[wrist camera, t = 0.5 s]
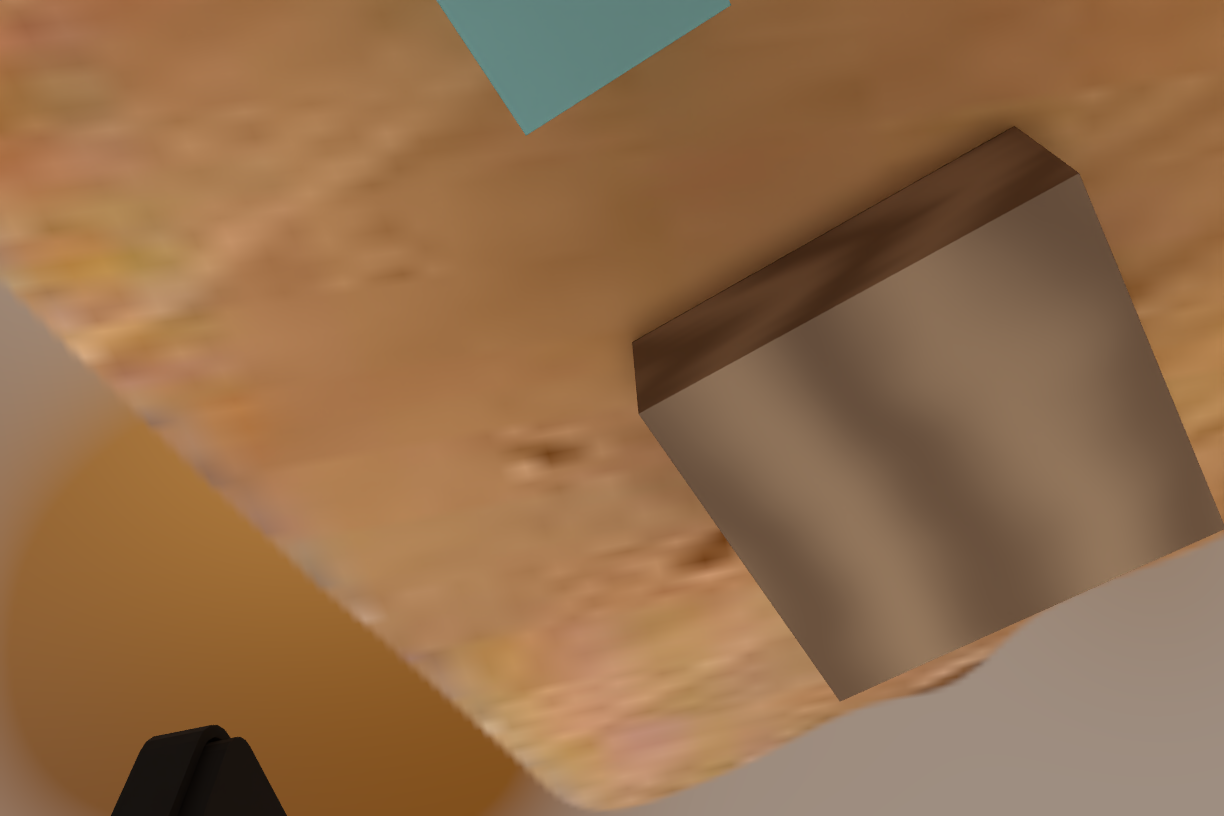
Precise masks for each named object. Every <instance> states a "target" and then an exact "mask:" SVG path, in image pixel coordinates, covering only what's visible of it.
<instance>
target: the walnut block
mask: <svg viewBox="0 0 1224 816" xmlns="http://www.w3.org/2000/svg"><path fill="white" fill-rule="evenodd" d="M632 345H633V356H634V368H635V379H636V390H637V401H638V412H639V415H640V416H641V418H642V419H643V421H644V422H645V424H646V425H647V426H648V428H649V429H650V431H651V432H652V434H653V435H654V436H655V438H656V439H657V441H658V442H659V444H660V445H661V446H662V448H663V449H664V451H665V452H666V454H667V455H668V456H669V458H670V459H671V461H672V462H673V464H674V465H675V466H676V468H677V469H678V471H679V472H680V474H681V475H682V476H683V478H684V479H685V481H686V482H687V484H688V485H689V486H690V488H691V489H692V491H693V492H694V494H695V495H696V496H697V498H698V499H699V501H700V502H701V504H702V505H703V506H704V508H705V509H706V511H707V512H708V514H709V515H710V516H711V518H712V519H713V521H714V522H715V524H716V525H717V526H718V528H719V529H720V531H721V532H722V534H723V535H724V536H725V538H726V539H727V541H728V542H729V544H730V545H731V546H732V548H733V549H734V551H735V552H736V554H737V555H738V556H739V558H740V559H741V561H742V562H743V564H744V565H745V566H746V568H747V569H748V571H749V572H750V574H751V575H752V576H753V578H754V579H755V581H756V582H757V584H758V585H759V586H760V588H761V589H762V591H763V592H764V594H765V595H766V596H767V598H768V599H769V601H770V602H771V604H772V605H773V606H774V608H775V609H776V611H777V612H778V614H779V615H780V616H781V618H782V619H783V621H784V622H785V624H786V625H787V626H788V628H789V629H790V631H791V632H792V634H793V635H794V636H795V638H796V639H797V641H798V642H799V644H800V645H801V646H802V648H803V649H804V651H805V652H806V654H807V655H808V656H809V658H810V659H811V661H812V662H813V664H814V665H815V666H816V668H817V669H818V671H819V672H820V674H821V675H822V676H823V678H824V679H825V681H826V682H827V684H828V685H829V686H830V688H831V689H832V691H833V692H834V694H835V695H836V696H837V698H838V699H839V701H842V700H845V699H847V698H849V697H851V696H853V695H856V694H858V693H860V692H862V691H865V690H867V689H869V688H871V687H873V686H876V685H878V684H880V683H882V682H885V681H887V680H889V679H891V678H894V677H896V676H898V675H900V674H902V673H905V672H907V671H909V670H911V669H914V668H916V667H918V666H920V665H923V664H925V663H927V662H929V661H931V660H934V659H936V658H938V657H940V656H943V655H945V654H947V653H949V652H951V651H954V650H956V649H958V648H960V647H963V646H965V645H967V644H969V643H972V642H974V641H976V640H978V639H980V638H983V637H985V636H987V635H989V634H992V633H994V632H996V631H998V630H1001V629H1003V628H1005V627H1007V626H1009V625H1012V624H1014V623H1016V622H1018V621H1021V620H1023V619H1025V618H1027V617H1029V616H1032V615H1034V614H1036V613H1038V612H1041V611H1043V610H1045V609H1047V608H1050V607H1052V606H1054V605H1056V604H1058V603H1061V602H1063V601H1065V600H1067V599H1070V598H1072V597H1074V596H1076V595H1079V594H1081V593H1083V592H1085V591H1087V590H1090V589H1092V588H1094V587H1096V586H1099V585H1101V584H1103V583H1105V582H1108V581H1110V580H1112V579H1114V578H1116V577H1119V576H1121V575H1123V574H1125V573H1128V572H1130V571H1132V570H1134V569H1136V568H1139V567H1141V566H1143V565H1145V564H1148V563H1150V562H1152V561H1154V560H1157V559H1159V558H1161V557H1163V556H1165V555H1168V554H1170V553H1172V552H1174V551H1177V550H1179V549H1181V548H1183V547H1186V546H1188V545H1190V544H1192V543H1194V542H1197V541H1199V540H1201V539H1203V538H1206V537H1208V536H1210V535H1212V534H1214V533H1217V532H1219V531H1221V530H1223V529H1224V524H1223V521H1222V519H1221V516H1220V514H1219V511H1218V509H1217V507H1216V504H1215V502H1214V499H1213V497H1212V494H1211V492H1210V490H1209V487H1208V485H1207V482H1206V480H1205V477H1204V475H1203V473H1202V470H1201V468H1200V465H1199V463H1198V461H1197V458H1196V456H1195V453H1194V451H1193V448H1192V446H1191V444H1190V441H1189V439H1188V436H1187V434H1186V431H1185V429H1184V427H1183V424H1182V422H1181V419H1180V417H1179V414H1178V412H1177V410H1176V407H1175V405H1174V402H1173V400H1172V397H1171V395H1170V393H1169V390H1168V388H1167V385H1166V383H1165V380H1164V378H1163V376H1162V373H1161V371H1160V368H1159V366H1158V363H1157V361H1156V359H1155V356H1154V354H1153V351H1152V349H1151V346H1150V344H1149V342H1148V339H1147V337H1146V334H1145V332H1144V330H1143V327H1142V325H1141V322H1140V320H1139V317H1138V315H1137V313H1136V310H1135V308H1134V305H1133V303H1132V300H1131V298H1130V296H1129V293H1128V291H1127V288H1126V286H1125V283H1124V281H1123V279H1122V276H1121V274H1120V271H1119V269H1118V266H1117V264H1116V262H1115V259H1114V257H1113V254H1112V252H1111V249H1110V247H1109V245H1108V242H1107V240H1106V237H1105V235H1104V232H1103V230H1102V228H1101V225H1100V223H1099V220H1098V218H1097V215H1096V213H1095V211H1094V208H1093V206H1092V203H1091V201H1090V198H1089V196H1088V194H1087V191H1086V189H1085V186H1084V184H1083V182H1082V179H1081V177H1080V174H1079V173H1078V172H1077V171H1075V170H1074V169H1073V168H1071V167H1070V166H1069V165H1067V164H1066V163H1064V162H1063V161H1062V160H1060V159H1059V158H1058V157H1056V156H1055V155H1054V154H1052V153H1051V152H1049V151H1048V150H1047V149H1045V148H1044V147H1043V146H1041V145H1040V144H1038V143H1037V142H1036V141H1034V140H1033V139H1032V138H1030V137H1029V136H1028V135H1026V134H1025V133H1023V132H1022V131H1021V130H1019V129H1018V128H1017V127H1015V126H1014V127H1013V128H1011V129H1009V130H1007V131H1005V132H1004V133H1002V134H1000V135H998V136H997V137H995V138H993V139H991V140H990V141H988V142H986V143H984V144H982V145H981V146H979V147H977V148H975V149H974V150H972V151H970V152H968V153H967V154H965V155H963V156H961V157H960V158H958V159H956V160H954V161H952V162H951V163H949V164H947V165H945V166H944V167H942V168H940V169H938V170H937V171H935V172H933V173H931V174H929V175H928V176H926V177H924V178H922V179H921V180H919V181H917V182H915V183H914V184H912V185H910V186H908V187H906V188H905V189H903V190H901V191H899V192H898V193H896V194H894V195H892V196H891V197H889V198H887V199H885V200H884V201H882V202H880V203H878V204H876V205H875V206H873V207H871V208H869V209H868V210H866V211H864V212H862V213H861V214H859V215H857V216H855V217H853V218H852V219H850V220H848V221H846V222H845V223H843V224H841V225H839V226H838V227H836V228H834V229H832V230H830V231H829V232H827V233H825V234H823V235H822V236H820V237H818V238H816V239H815V240H813V241H811V242H809V243H807V244H806V245H804V246H802V247H800V248H799V249H797V250H795V251H793V252H792V253H790V254H788V255H786V256H785V257H783V258H781V259H779V260H777V261H776V262H774V263H772V264H770V265H769V266H767V267H765V268H763V269H762V270H760V271H758V272H756V273H754V274H753V275H751V276H749V277H747V278H746V279H744V280H742V281H740V282H739V283H737V284H735V285H733V286H731V287H730V288H728V289H726V290H724V291H723V292H721V293H719V294H717V295H716V296H714V297H712V298H710V299H709V300H707V301H705V302H703V303H701V304H700V305H698V306H696V307H694V308H693V309H691V310H689V311H687V312H686V313H684V314H682V315H680V316H678V317H677V318H675V319H673V320H671V321H670V322H668V323H666V324H664V325H663V326H661V327H659V328H657V329H655V330H654V331H652V332H650V333H648V334H647V335H645V336H643V337H641V338H640V339H638V340H636V341H634V342H632Z"/></svg>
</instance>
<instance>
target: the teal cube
mask: <svg viewBox="0 0 1224 816" xmlns="http://www.w3.org/2000/svg"><path fill="white" fill-rule="evenodd" d="M437 2H438V3H439V5H440V6H441V8H442V9H443V11H444V12H445V14H446V15H447V17H448V18H449V20H450V21H451V23H452V24H453V26H454V27H455V29H456V31H457V32H458V34H459V35H460V37H461V38H462V40H463V41H464V43H465V44H466V46H467V47H468V49H469V50H470V52H471V53H472V55H473V56H474V58H475V59H476V61H477V62H478V64H479V65H480V67H481V68H482V70H483V71H484V73H485V74H486V76H487V77H488V79H489V80H490V82H491V83H492V85H493V86H494V88H495V89H496V91H497V92H498V94H499V95H500V97H501V98H502V100H503V102H504V103H505V105H506V106H507V108H508V109H509V111H510V112H511V114H512V115H513V117H514V118H515V120H516V121H517V123H518V124H519V126H520V127H521V129H522V130H523V132H524V133H525V135H528V134H529V133H531V132H532V131H534V130H536V129H537V128H539V127H540V126H542V125H543V124H545V123H547V122H548V121H550V120H551V119H553V118H554V117H556V116H558V115H559V114H561V113H562V112H564V111H565V110H567V109H569V108H570V107H572V106H573V105H575V104H576V103H578V102H580V101H581V100H583V99H584V98H586V97H587V96H589V95H591V94H592V93H594V92H595V91H597V90H598V89H600V88H602V87H603V86H605V85H606V84H608V83H609V82H611V81H613V80H614V79H616V78H617V77H619V76H620V75H622V74H624V73H625V72H627V71H628V70H630V69H631V68H633V67H635V66H636V65H638V64H639V63H641V62H642V61H644V60H646V59H647V58H649V57H650V56H652V55H653V54H655V53H657V52H658V51H660V50H661V49H663V48H664V47H666V46H668V45H669V44H671V43H672V42H674V41H675V40H677V39H679V38H680V37H682V36H683V35H685V34H686V33H688V32H690V31H691V30H693V29H694V28H696V27H697V26H699V25H701V24H702V23H704V22H705V21H707V20H708V19H710V18H712V17H713V16H715V15H716V14H718V13H719V12H721V11H723V10H724V9H726V8H727V7H729V6H730V5H731V4H730V2H729V0H437Z"/></svg>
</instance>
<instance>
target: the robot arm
mask: <svg viewBox="0 0 1224 816" xmlns="http://www.w3.org/2000/svg"><path fill="white" fill-rule="evenodd" d="M111 816H287V815H286V813H285V811H284V809H283V808H282V806H281V804H280V802H279V800H278V798H277V796H276V794H275V793H274V791H273V789H272V787H271V785H270V783H269V781H268V779H267V777H266V776H265V774H264V772H263V770H262V768H261V766H260V764H259V762H258V761H257V759H256V757H255V755H254V753H253V751H252V749H251V747H250V746H249V744H248V743H247V742H246V740H244V739H243V738H241V737H234V738H230V737H229V735H228V734H227V732H226V731H225V730H224V729H223V728H221V727H220V726H218V725H209V726H205V727H199V728H194V729H189V730H185V731H180V732H174V733H170V734H165V735H159V736H154V737H152V738H151V739H149V740H148V741H147V742H146V743H145V744H144V746H143V748H142V749H141V751H140V753H139V755H138V757H137V759H136V761H135V764H134V766H133V768H132V770H131V772H130V775H129V777H128V779H127V782H126V784H125V786H124V788H123V790H122V792H121V795H120V797H119V799H118V801H117V803H116V806H115V808H114V810H113V812H112V815H111Z"/></svg>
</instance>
